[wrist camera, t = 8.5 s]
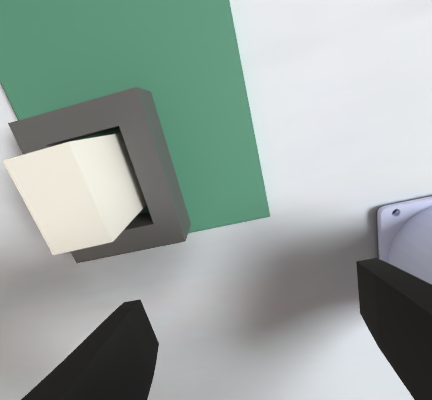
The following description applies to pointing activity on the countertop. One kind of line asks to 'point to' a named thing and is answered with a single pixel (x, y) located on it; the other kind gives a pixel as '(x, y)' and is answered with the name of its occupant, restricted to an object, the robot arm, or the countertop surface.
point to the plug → (79, 191)
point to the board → (140, 104)
